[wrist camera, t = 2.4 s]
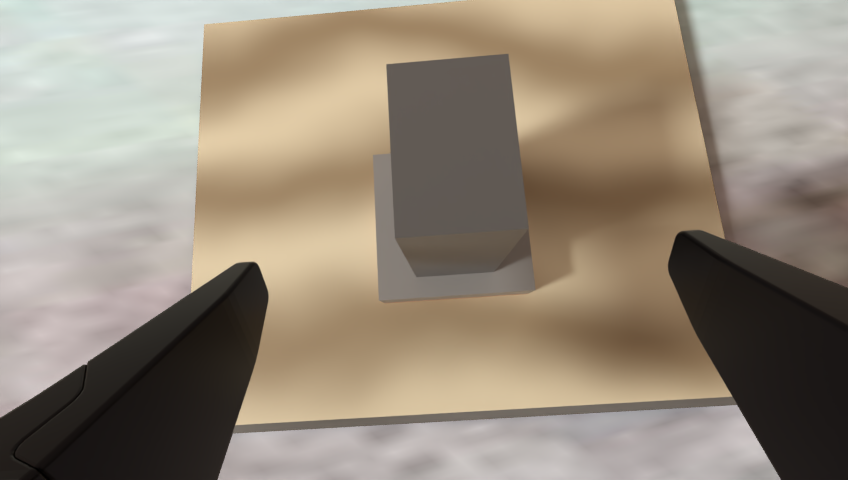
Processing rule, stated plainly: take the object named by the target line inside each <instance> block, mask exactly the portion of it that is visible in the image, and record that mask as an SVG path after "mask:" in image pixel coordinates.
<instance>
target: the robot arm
mask: <svg viewBox="0 0 848 480" xmlns="http://www.w3.org/2000/svg"><path fill="white" fill-rule="evenodd" d="M668 272H669V275H670V277H671V280H672V282H673V284H674V286H675V289H676V291H677V293H678V295H679V298H680V300H681V302H682V305H683V307H684V309H685V311H686V314H687V316H688V318H689V320H690V323H691V325H692V327H693V329H694V331H695V333H696V335H697V337H698V339H699V340H700V342H701V344H702V346H703V347H704V349H705V351H706V353H707V354H708V356H709V358H710V359H711V361H712V363H713V364H714V366H715V368H716V370H717V371H718V373H719V375H720V376H721V378H722V380H723V382H724V383H725V385H726V387H727V388H728V390H729V392H730V393H731V395H732V397H733V399H734V400H735V402H736V404H737V405H738V407H739V409H740V411H741V412H742V414H743V416H744V417H745V419H746V421H747V422H748V424H749V426H750V428H751V429H752V431H753V433H754V434H755V436H756V438H757V440H758V441H759V443H760V445H761V446H762V448H763V450H764V451H765V453H766V455H767V457H768V458H769V460H770V462H771V463H772V465H773V467H774V469H775V470H776V472H777V474H778V475H779V477H780V479H781V480H848V288H847V287H844V286H842V285H839V284H837V283H834V282H832V281H829V280H826V279H824V278H821V277H819V276H816V275H814V274H811V273H809V272H806V271H804V270H801V269H799V268H796V267H794V266H791V265H789V264H786V263H783V262H781V261H778V260H776V259H773V258H771V257H768V256H766V255H763V254H761V253H758V252H756V251H753V250H751V249H748V248H746V247H743V246H740V245H738V244H735V243H733V242H730V241H728V240H725V239H723V238H720V237H718V236H715V235H713V234H710V233H708V232H705V231H702V230H686V231H680V232H679V233H678V234H677V235H676V237H675V240H674V243H673V247H672V250H671V254H670V257H669V261H668ZM268 300H269V294H268V289H267V286H266V284H265V281H264V278H263V275H262V273H261V270H260V267H259V265H258V264H257V263H256V262H238V263H236V264H234V265H232V266H231V267H229V268H228V269H226V270H225V271H223V272H222V273H220V274H219V275H217V276H216V277H214V278H213V279H211V280H210V281H208V282H207V283H205V284H204V285H202V286H201V287H199V288H198V289H196V290H195V291H193V292H192V293H190V294H189V295H187V296H186V297H184V298H183V299H181V300H180V301H178V302H177V303H175V304H174V305H172V306H171V307H169V308H168V309H166V310H165V311H163V312H162V313H160V314H159V315H157V316H156V317H154V318H153V319H151V320H150V321H148V322H147V323H145V324H144V325H142V326H141V327H139V328H138V329H136V330H135V331H133V332H132V333H130V334H129V335H127V336H126V337H124V338H123V339H121V340H120V341H118V342H117V343H115V344H114V345H112V346H111V347H109V348H108V349H106V350H105V351H103V352H102V353H100V354H99V355H97V356H96V357H94V358H93V359H91V360H90V361H88V363H87V365H82V366H81V367H79V368H78V369H76V370H75V371H73V372H72V373H70V374H69V375H67V376H66V377H64V378H63V379H61V380H60V381H58V382H57V383H55V384H53V385H52V386H50V387H49V388H47V389H46V390H44V391H43V392H41V393H40V394H38V395H36V396H35V397H33V398H32V399H30V400H28V401H27V402H25V403H24V404H22V405H20V406H19V407H17V408H15V409H14V410H12V411H11V412H9V413H7V414H6V415H4V416H2V417H1V418H0V480H217V479H218V476H219V473H220V470H221V467H222V464H223V461H224V458H225V455H226V452H227V449H228V446H229V443H230V440H231V437H232V434H233V431H234V428H235V425H236V422H237V419H238V415H239V412H240V409H241V406H242V403H243V400H244V397H245V394H246V391H247V388H248V385H249V382H250V379H251V376H252V373H253V370H254V366H255V363H256V359H257V355H258V351H259V346H260V341H261V336H262V331H263V326H264V321H265V316H266V311H267V306H268Z"/></svg>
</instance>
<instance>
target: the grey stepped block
mask: <svg viewBox="0 0 848 480" xmlns="http://www.w3.org/2000/svg"><path fill="white" fill-rule="evenodd" d="M386 70H387V90H388V110H389V130H390V150H391V153H390V154H377V155H373V170H374V195H375V219H376V244H377V269H378V293H379V301H381V302H383V303H385V304H386V303H401V302H416V301H431V300H446V299H461V298H476V297H491V296H506V295H521V294H528V293H530V292H533V291H535V290H536V289H535V280H534V272H533V263H532V254H531V246H530V237H529V226H528V217H527V208H526V200H525V191H524V183H523V174H522V166H521V157H520V148H519V140H518V131H517V123H516V114H515V105H514V97H513V88H512V80H511V71H510V63H509V54H498V55H487V56H475V57H464V58H452V59H441V60H429V61H418V62H406V63H394V64H386Z"/></svg>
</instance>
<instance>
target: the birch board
mask: <svg viewBox="0 0 848 480" xmlns="http://www.w3.org/2000/svg"><path fill="white" fill-rule="evenodd" d="M498 54H509V63H510V71H511V80H512V88H513V97H514V105H515V114H516V123H517V131H518V140H519V148H520V157H521V166H522V174H523V183H524V191H525V200H526V208H527V217H528V226H529V237H530V246H531V254H532V263H533V272H534V280H535V289H536V290H535V291H533V292H530V293H528V294H521V295H506V296H491V297H476V298H461V299H446V300H431V301H416V302H401V303H386V304H385V303H383V302H381V301H379V293H378V269H377V244H376V219H375V195H374V170H373V155H377V154H390V153H391V150H390V130H389V110H388V90H387V70H386V64H394V63H406V62H418V61H429V60H441V59H452V58H464V57H475V56H487V55H498ZM686 230H702V231H705V232H708V233H710V234H713V235H715V236H718V237H720V238H723V239H725V237H724V232H723V227H722V223H721V218H720V213H719V209H718V204H717V199H716V194H715V190H714V185H713V180H712V176H711V171H710V166H709V162H708V157H707V152H706V147H705V143H704V138H703V133H702V129H701V124H700V119H699V115H698V110H697V105H696V100H695V96H694V91H693V86H692V82H691V77H690V72H689V68H688V63H687V58H686V53H685V49H684V44H683V39H682V35H681V30H680V25H679V21H678V16H677V11H676V6H675V2H674V0H467V1H456V2H445V3H434V4H423V5H413V6H402V7H391V8H380V9H369V10H358V11H347V12H336V13H325V14H314V15H303V16H292V17H281V18H270V19H260V20H249V21H238V22H227V23H216V24H205V25H204V42H203V62H202V83H201V103H200V123H199V143H198V164H197V184H196V204H195V224H194V245H193V265H192V285H191V293H192V292H193V291H195V290H196V289H198V288H199V287H201V286H202V285H204V284H205V283H207V282H208V281H210V280H211V279H213V278H214V277H216V276H217V275H219V274H220V273H222V272H223V271H225V270H226V269H228V268H229V267H231V266H232V265H234V264H236V263H238V262H256V263H257V264H258V265H259V267H260V270H261V273H262V275H263V278H264V281H265V284H266V286H267V289H268V294H269V300H268V306H267V311H266V316H265V321H264V326H263V331H262V336H261V341H260V346H259V351H258V355H257V359H256V363H255V366H254V370H253V373H252V376H251V379H250V382H249V385H248V388H247V391H246V394H245V397H244V400H243V403H242V406H241V409H240V412H239V415H238V419H237V422H236V425H235V428H234V431H233V433H248V432H266V431H284V430H301V429H319V428H337V427H354V426H372V425H390V424H407V423H425V422H442V421H460V420H478V419H495V418H513V417H531V416H548V415H566V414H584V413H601V412H619V411H637V410H654V409H672V408H689V407H707V406H725V405H737V404H736V402H735V400H734V399H733V397H732V395H731V393H730V392H729V390H728V388H727V387H726V385H725V383H724V382H723V380H722V378H721V376H720V375H719V373H718V371H717V370H716V368H715V366H714V364H713V363H712V361H711V359H710V358H709V356H708V354H707V353H706V351H705V349H704V347H703V346H702V344H701V342H700V340H699V339H698V337H697V335H696V333H695V331H694V329H693V327H692V325H691V323H690V320H689V318H688V316H687V314H686V311H685V309H684V307H683V305H682V302H681V300H680V298H679V295H678V293H677V291H676V289H675V286H674V284H673V282H672V280H671V277H670V275H669V272H668V261H669V257H670V254H671V250H672V247H673V243H674V240H675V237H676V235H677V234H678V233H679V232H680V231H686Z"/></svg>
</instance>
